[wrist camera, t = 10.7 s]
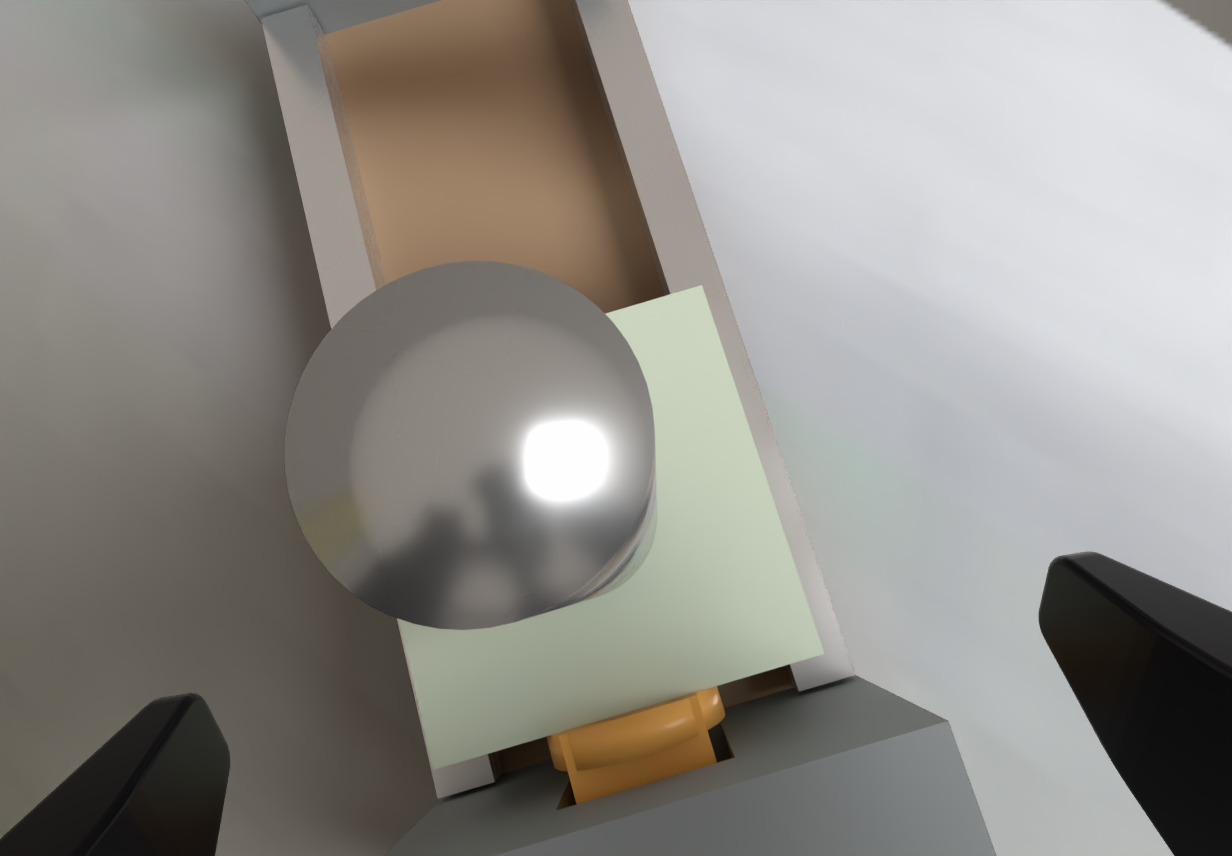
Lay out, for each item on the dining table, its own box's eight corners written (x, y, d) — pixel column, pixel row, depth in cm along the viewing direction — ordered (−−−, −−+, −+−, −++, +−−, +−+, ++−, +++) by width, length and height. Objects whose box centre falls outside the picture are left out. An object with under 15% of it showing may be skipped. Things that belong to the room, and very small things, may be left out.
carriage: (799, 642, 16) (1055, 759, 6) (466, 741, 16) (115, 1039, 6) (696, 325, 17) (749, -45, 7) (389, 415, 17) (-6, 177, 7)
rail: (876, 795, 18) (1029, 947, 10) (498, 908, 18) (384, 1139, 10) (599, -36, 22) (570, -338, 15) (297, 53, 22) (119, -205, 15)
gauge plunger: (780, 906, 15) (812, 993, 12) (619, 953, 15) (609, 1053, 12) (709, 668, 16) (721, 692, 13) (557, 714, 16) (531, 747, 13)
